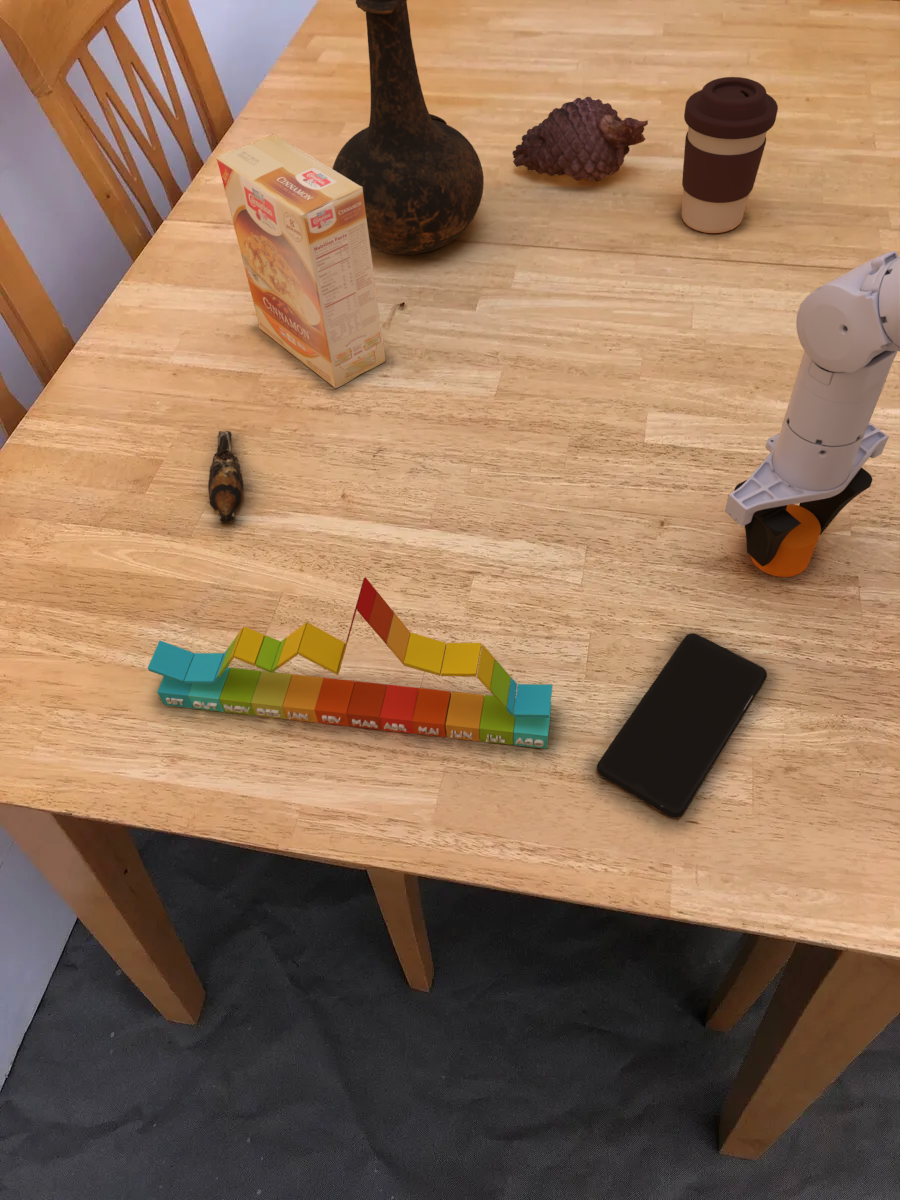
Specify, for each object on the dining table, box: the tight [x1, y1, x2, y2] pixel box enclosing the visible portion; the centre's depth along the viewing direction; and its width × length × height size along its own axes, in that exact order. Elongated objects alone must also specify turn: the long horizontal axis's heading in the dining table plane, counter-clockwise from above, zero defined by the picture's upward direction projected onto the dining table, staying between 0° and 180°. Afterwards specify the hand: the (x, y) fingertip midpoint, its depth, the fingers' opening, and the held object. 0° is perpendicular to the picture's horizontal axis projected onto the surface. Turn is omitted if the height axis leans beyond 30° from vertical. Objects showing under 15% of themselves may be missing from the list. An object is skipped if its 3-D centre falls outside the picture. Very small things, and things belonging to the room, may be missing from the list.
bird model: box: [207, 430, 244, 524], centre depth 87 cm, size 3×13×3 cm, turn 6°
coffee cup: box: [681, 76, 779, 234], centre depth 107 cm, size 10×10×15 cm
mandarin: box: [749, 504, 821, 578], centre depth 78 cm, size 5×5×4 cm
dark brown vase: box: [332, 0, 485, 256], centre depth 103 cm, size 18×18×28 cm
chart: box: [147, 576, 554, 750], centre depth 66 cm, size 30×3×15 cm, turn 81°
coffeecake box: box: [215, 133, 386, 389], centre depth 93 cm, size 15×7×20 cm, turn 40°
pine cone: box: [511, 96, 649, 183], centre depth 118 cm, size 18×10×10 cm
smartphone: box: [596, 632, 768, 819], centre depth 69 cm, size 7×1×15 cm
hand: (783, 543), depth 78 cm, fingers closed on mandarin, 5 cm apart
